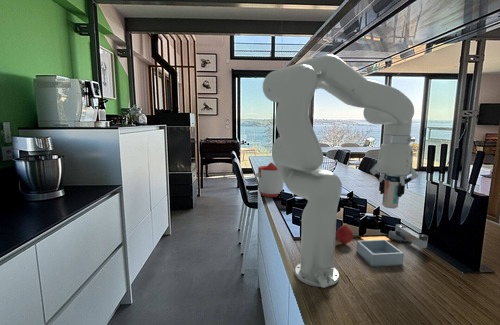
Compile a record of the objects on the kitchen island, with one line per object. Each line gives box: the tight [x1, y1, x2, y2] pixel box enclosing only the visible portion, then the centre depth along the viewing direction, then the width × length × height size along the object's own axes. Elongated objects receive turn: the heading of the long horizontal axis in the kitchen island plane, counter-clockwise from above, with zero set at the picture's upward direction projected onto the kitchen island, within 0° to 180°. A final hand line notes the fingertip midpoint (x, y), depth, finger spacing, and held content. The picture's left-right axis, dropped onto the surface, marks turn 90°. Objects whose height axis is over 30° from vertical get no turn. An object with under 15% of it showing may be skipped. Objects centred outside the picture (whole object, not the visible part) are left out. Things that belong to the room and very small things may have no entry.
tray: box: [355, 240, 405, 268], centre depth 93 cm, size 10×10×4 cm
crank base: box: [360, 230, 411, 244], centre depth 108 cm, size 8×19×2 cm, turn 96°
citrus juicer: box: [254, 162, 285, 198], centre depth 169 cm, size 16×17×20 cm
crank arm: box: [394, 224, 429, 249], centre depth 103 cm, size 15×4×4 cm, turn 6°
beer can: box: [381, 174, 401, 209], centre depth 95 cm, size 5×5×12 cm
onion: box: [335, 223, 354, 246], centre depth 103 cm, size 6×6×8 cm
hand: (391, 194), depth 95 cm, fingers closed on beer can, 4 cm apart
